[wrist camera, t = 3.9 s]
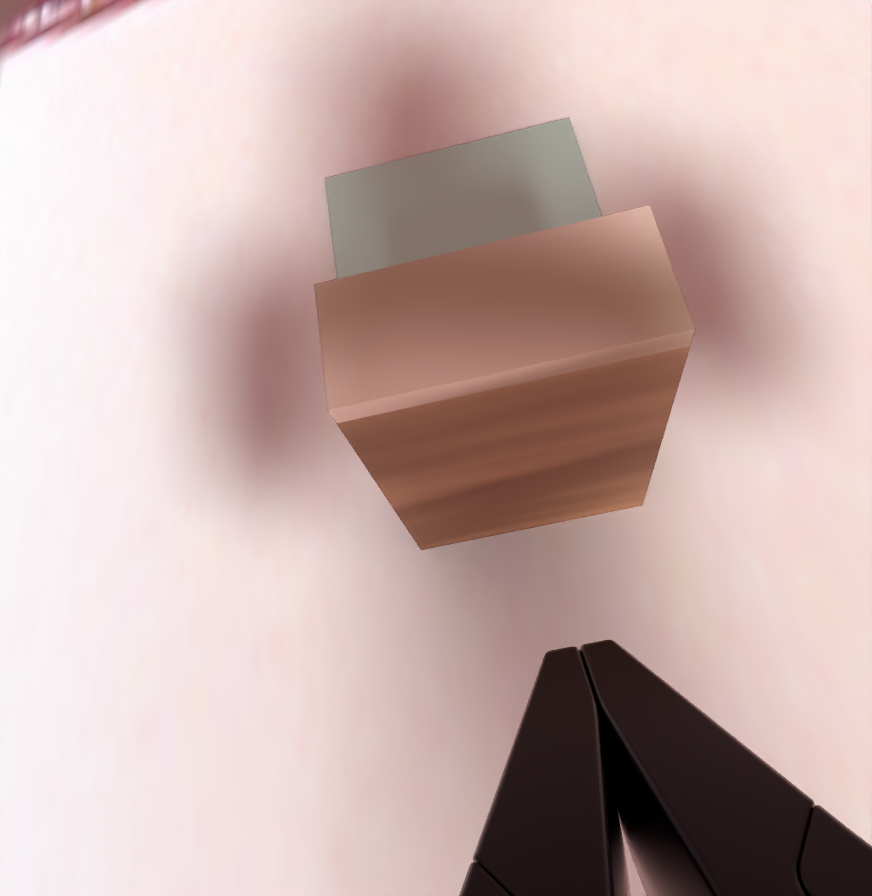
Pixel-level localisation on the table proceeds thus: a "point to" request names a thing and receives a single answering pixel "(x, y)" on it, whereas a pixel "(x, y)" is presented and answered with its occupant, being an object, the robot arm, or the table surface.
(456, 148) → the mat
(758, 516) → the table surface
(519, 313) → the slab
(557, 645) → the table surface
